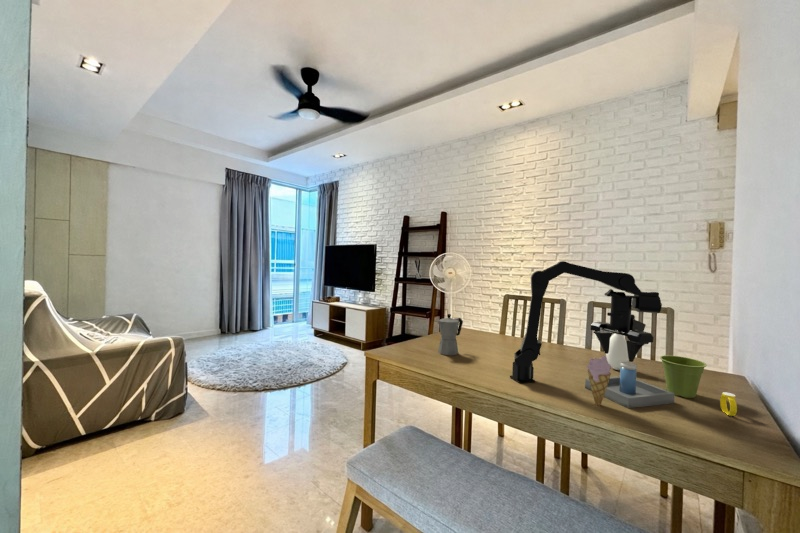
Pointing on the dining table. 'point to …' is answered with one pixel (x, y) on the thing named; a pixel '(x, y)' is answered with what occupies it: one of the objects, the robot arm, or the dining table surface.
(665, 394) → the tray
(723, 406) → the watch
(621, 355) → the white vase
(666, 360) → the plant pot
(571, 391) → the dining table surface
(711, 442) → the dining table surface
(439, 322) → the coffeepot
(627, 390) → the cylinder
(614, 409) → the dining table surface
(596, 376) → the ice cream cone
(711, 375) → the dining table surface
